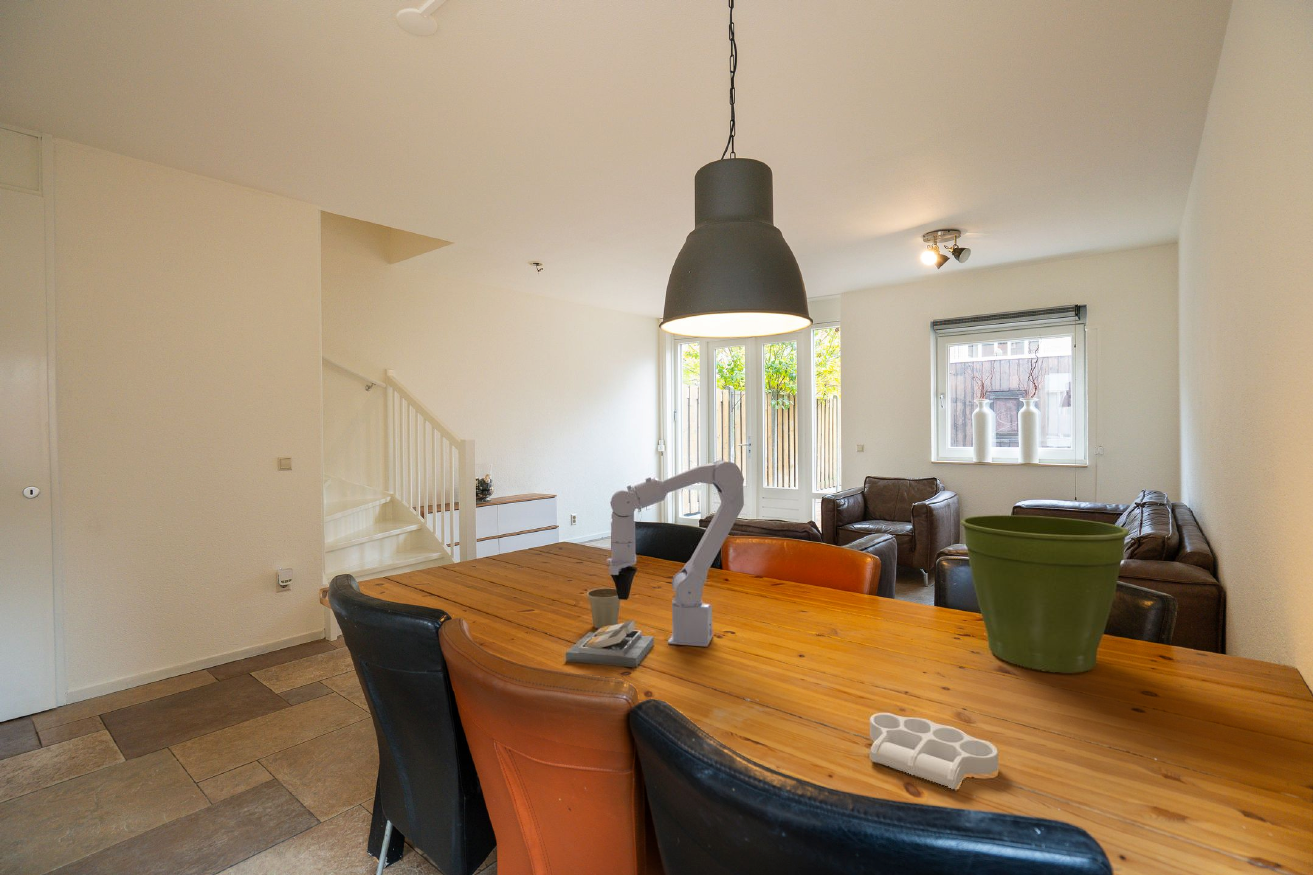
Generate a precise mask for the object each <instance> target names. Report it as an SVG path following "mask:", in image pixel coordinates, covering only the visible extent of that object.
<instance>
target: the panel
mask: <svg viewBox="0 0 1313 875" xmlns="http://www.w3.org/2000/svg"><path fill="white" fill-rule="evenodd" d="M601 629H602V628H600V629H597V630H596V631H589V632H587V633H586V634H585V635H584V636H583V637H582V638H580V639H579V640H578V641H577V642H576V643H575V644H573V645H572V646H571V647H569V649H567V651H565V662H566V663H567V662H570V663H580V664H581V663H583V664H590V665H591V664H592V665H601V666H603V665H604V666H613V667H626V668H635V667H636V668H638V666H639V665H640V663H641V662H642V661H643V660H644V659H645V657H646V656H647V655H648V654H649V652H650V651H651V649H652V648H653V645H655V636H653V635H643V633H642V630H640V629H639V630H637V629H633V631H632V632H631V633H629V634H626V636H625V637H624V638H623V640H622V641H621V642H619V643H616V644H612V645H609V646H606V647H602V648H590V647H585V645H586V643H588V642H589V641H590V640H591V639H592V638H593V637H597V634H596V633H597V632H598V631H599V630H601ZM649 650H650V651H649ZM645 655H646V656H645ZM642 659H643V660H642ZM638 664H639V665H638Z"/></svg>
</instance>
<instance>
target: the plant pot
mask: <svg viewBox="0 0 1313 875" xmlns="http://www.w3.org/2000/svg"><path fill="white" fill-rule="evenodd" d="M960 523H961V526H963V529H964V530H963V531H964V539H965V541H964V542H965V547H966V549H967V557H968V561H969V567H970V573H971V577H972V578H971V579H972V582H973V586H974V591H975V594H976V598H977V603H978V607H979V610H980V614H981V616H982V620H983V623H984V626H985V630H986V634H987V643H988V645H987V646H988V649H989V651H990V652H992V654H994V656H996V657H998V658H999V659H1002V660H1004V661H1006V662H1008V663H1011V664H1013V665H1016V664H1017V665H1016V666H1019V665H1020V666H1019V667H1022V666H1024V667H1023V668H1026V667H1028V668H1027V669H1030V668H1032V669H1031V670H1035V669H1038V670H1037V671H1040V670H1044V671H1043V672H1046V671H1050V672H1049V673H1055V672H1065V673H1064V674H1075V673H1074V672H1080V673H1085V672H1087V670H1088V671H1090V669H1091V670H1093V669H1094V668H1095V667H1096V665H1097V657H1098V656H1097V654H1098V650H1099V649H1098V648H1099V647H1100V644H1101V641H1102V638H1103V635H1104V632H1105V629H1106V626H1107V623H1108V620H1109V617H1110V613H1111V608H1112V605H1113V601H1114V597H1115V593H1116V590H1117V585H1118V578H1119V575H1120V574H1119V573H1120V569H1121V564H1122V563H1121V562H1122V561H1123V560H1124V556H1125V555H1124V553H1125V541H1126V539H1125V538H1126V537H1127V536H1129V530H1128V528H1126V527H1123V526H1119V525H1116V524H1111V523H1106V522H1105V523H1104V522H1100V521H1092V520H1086V519H1085V520H1084V519H1077V518H1076V519H1075V518H1064V517H1052V516H1038V515H1016V514H1014V515H1012V514H1011V515H1010V514H1009V515H1007V514H1001V515H1000V514H999V515H998V514H996V515H995V514H993V515H975V516H974V515H973V516H968V517H965V518H961V520H960ZM1084 671H1085V672H1084Z"/></svg>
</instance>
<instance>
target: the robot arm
mask: <svg viewBox="0 0 1313 875" xmlns="http://www.w3.org/2000/svg"><path fill="white" fill-rule="evenodd" d="M744 480H745V478H744V476H743V473H742V471H741V469H740V467H739V466H738V465H737V464H736V463H734V462H731V461H725V460H717V461H715V462H709V463H708V462H707V463H705V464H701V465H698V466H694V467H693V468H690V469H688V470H685V471H683V472H681V473H678V474H676V475H674V476H671V477H669V478H666V479H664V480H663V479H662V480H661V479H659V478H657V477H653V478H651V477H647V478H645V481H644V482H641V483H638V484H636V485H633V486H632V485H628V486H626V489H627V490H626V489H621V490H618V491H616V492H614V493H613V495H612V496H611V499H610V502H609V503H610V508H611V510H612V511H611V512H612V513H611V522H610V540H611V541H610V547H611V548H610V551H611V552H610V556H611V558H609V557H608V558H607V559H606V563H607V564H610V565H609V566H608V575H610V576H611V579H612V581H613V583H614V586H615V589H616V590H617V595H618V598H619V599H621V600H623V601H626V600H628V599H629V598H630V593H631V588H632V583H633V580H634V578H635V575H636V573H637V571H638V567H637V566H633V565H635V564H637V554H636V522H635V511H636V509H638V510H642V509H645V508H648V507H650V506H652V505H655V504H658V503H660V502H664V501H665V499H666V496H667V495H668V494H669V493H671V492H675V491H678V490H680V489H684V488H687V487H689V486H692V485H695V484H698V483H702V484H708V485H713V486H714V488H715V489H716V490H717V494H718V497H719V499H720V504H719V507H717V510H716V512H715V514H714V516H713V517H712V519H711V521H710V523H709V524H708V526H707V528H706V530H705V532H704V534H703V536H701V539H700V541H699V542H698V545H697V546H696V548H695V550H694V552H693V553H692V555H691V557H690V559H689V560H688V561H687V562H686V563H685V564H684V565H683V567H682V569H681V570H680V571H678V572H677V573H675V575H673V577H672V581H671V587H672V589H673V591H674V593H675V595H674V597H673V599H672V600H671V616H672V619H671V620H672V623H671V624H672V635H671V637H670V638H669V639H668V640H667V644H669V645H681V646H682V645H683V646H693V647H694V646H695V647H708V646H709V644H710V642H711V640H712V639H713V637H714V633H713V608H712V605H711V604H710V603H705V602H703V599H702V597H703V590H704V589H703V588H704V586H705V583H706V581H707V578H708V572H709V570H710V568H711V566H712V564H713V563H714V560H715V559H716V557H717V555H718V553H719V552H720V550H721V548H722V546H723V544H724V543H725V541H726V539H727V537H728V535H729V533H730V531H731V529H732V528H733V526H734V524H735V523H736V521H737V519H738V517H739V515H740V514H741V512H742V510H743V508H744V505H745V500H744V499H745V498H744V482H745V481H744Z"/></svg>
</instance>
